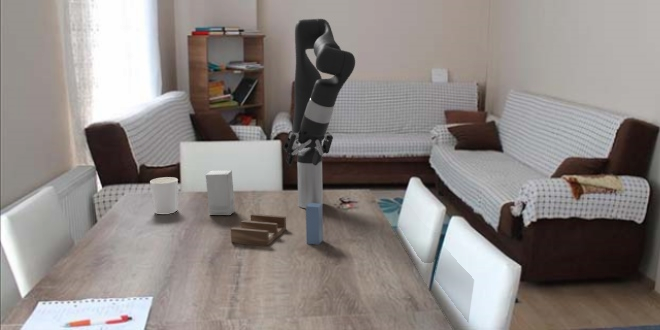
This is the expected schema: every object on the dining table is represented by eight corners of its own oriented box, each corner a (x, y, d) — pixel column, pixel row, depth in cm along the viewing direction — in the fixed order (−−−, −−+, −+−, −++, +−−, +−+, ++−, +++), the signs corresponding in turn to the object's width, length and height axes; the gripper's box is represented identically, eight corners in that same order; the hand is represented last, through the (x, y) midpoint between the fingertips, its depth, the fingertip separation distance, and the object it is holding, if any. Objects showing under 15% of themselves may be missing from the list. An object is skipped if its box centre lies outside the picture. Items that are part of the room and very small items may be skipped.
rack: (252, 226, 199) (252, 213, 198) (286, 229, 196) (285, 216, 195) (231, 242, 184) (230, 228, 183) (267, 246, 180) (266, 232, 179)
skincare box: (235, 211, 217) (233, 170, 213) (230, 216, 210) (228, 174, 207) (213, 210, 217) (210, 169, 214) (207, 216, 211) (205, 173, 208)
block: (310, 239, 186) (310, 202, 183) (322, 240, 185) (322, 203, 182) (306, 243, 182) (305, 206, 180) (319, 244, 181) (318, 207, 178)
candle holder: (150, 210, 219) (148, 178, 217) (177, 206, 223) (175, 176, 221) (154, 217, 211) (152, 184, 208) (182, 213, 215) (180, 181, 212)
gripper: (332, 110, 173) (316, 157, 180) (290, 108, 165) (275, 157, 172) (344, 123, 167) (327, 170, 175) (301, 121, 159) (285, 171, 167)
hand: (301, 164), depth 173 cm, fingers open, 8 cm apart
